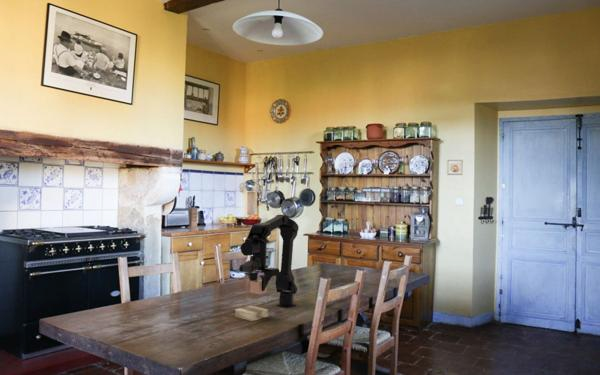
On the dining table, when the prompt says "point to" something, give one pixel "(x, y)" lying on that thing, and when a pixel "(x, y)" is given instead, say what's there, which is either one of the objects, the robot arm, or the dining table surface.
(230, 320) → the dining table surface
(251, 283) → the cube
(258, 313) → the base
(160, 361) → the dining table surface
